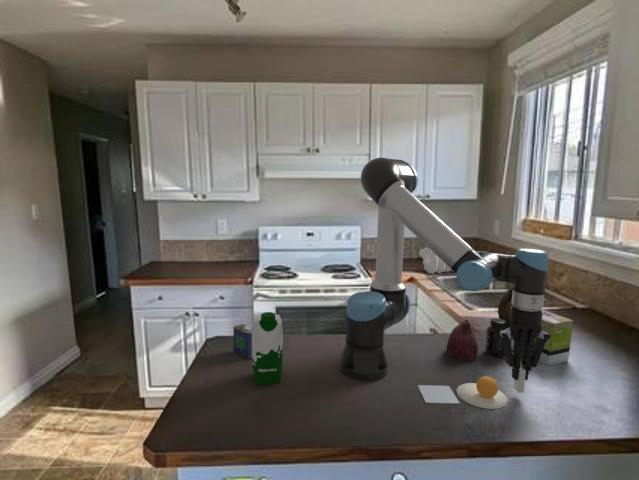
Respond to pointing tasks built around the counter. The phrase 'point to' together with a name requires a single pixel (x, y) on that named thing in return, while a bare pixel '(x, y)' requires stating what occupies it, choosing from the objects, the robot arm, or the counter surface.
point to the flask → (242, 341)
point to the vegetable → (462, 343)
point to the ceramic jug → (506, 306)
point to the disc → (480, 397)
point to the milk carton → (267, 348)
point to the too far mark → (438, 394)
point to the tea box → (555, 338)
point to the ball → (487, 387)
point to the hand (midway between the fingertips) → (518, 390)
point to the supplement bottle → (495, 338)
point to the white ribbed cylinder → (432, 262)
